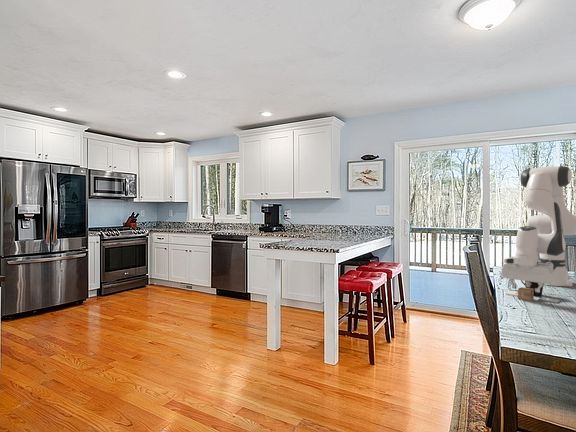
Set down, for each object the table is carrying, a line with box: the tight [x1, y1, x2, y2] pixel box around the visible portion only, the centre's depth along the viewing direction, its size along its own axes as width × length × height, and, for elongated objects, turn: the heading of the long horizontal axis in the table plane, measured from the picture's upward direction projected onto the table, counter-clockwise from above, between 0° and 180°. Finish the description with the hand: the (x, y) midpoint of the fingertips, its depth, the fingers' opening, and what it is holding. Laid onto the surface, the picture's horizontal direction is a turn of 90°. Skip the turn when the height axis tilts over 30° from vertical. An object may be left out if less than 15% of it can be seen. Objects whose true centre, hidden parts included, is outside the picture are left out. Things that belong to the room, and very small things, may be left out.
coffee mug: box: [520, 280, 545, 297], centre depth 178 cm, size 12×9×10 cm
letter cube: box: [517, 286, 535, 302], centre depth 168 cm, size 5×5×5 cm
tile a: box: [537, 296, 561, 304], centre depth 165 cm, size 7×7×1 cm
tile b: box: [505, 291, 518, 298], centre depth 176 cm, size 7×7×1 cm
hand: (525, 290), depth 167 cm, fingers open, 8 cm apart
